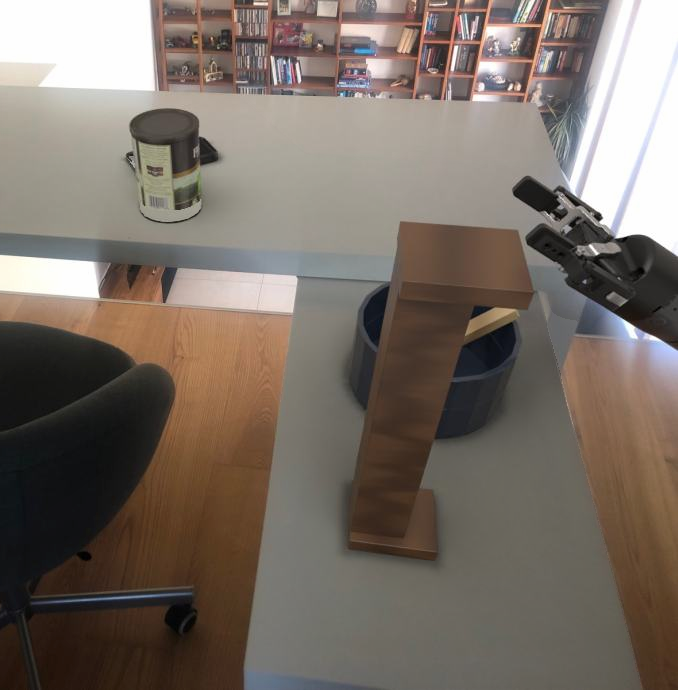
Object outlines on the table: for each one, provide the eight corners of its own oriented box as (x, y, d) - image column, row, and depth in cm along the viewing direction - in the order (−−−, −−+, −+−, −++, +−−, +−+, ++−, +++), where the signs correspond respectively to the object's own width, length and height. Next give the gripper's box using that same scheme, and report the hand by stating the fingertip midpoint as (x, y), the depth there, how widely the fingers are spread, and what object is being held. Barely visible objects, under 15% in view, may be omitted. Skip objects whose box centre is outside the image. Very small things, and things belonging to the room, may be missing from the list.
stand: (430, 498, 70) (518, 229, 48) (434, 561, 65) (534, 292, 43) (350, 488, 71) (400, 220, 49) (348, 549, 66) (402, 280, 44)
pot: (490, 340, 87) (509, 283, 80) (509, 447, 74) (533, 389, 68) (351, 327, 89) (359, 270, 83) (346, 428, 76) (356, 371, 70)
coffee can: (198, 186, 115) (195, 104, 106) (206, 220, 108) (203, 135, 98) (136, 192, 114) (127, 110, 105) (140, 226, 107) (130, 141, 97)
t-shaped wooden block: (408, 382, 81) (396, 370, 80) (404, 352, 84) (393, 341, 83) (523, 326, 73) (512, 313, 72) (513, 297, 77) (502, 283, 76)
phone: (219, 153, 121) (138, 172, 117) (220, 159, 122) (139, 178, 117) (202, 135, 126) (123, 152, 122) (202, 141, 127) (124, 158, 123)
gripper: (663, 223, 71) (543, 140, 67) (712, 311, 60) (573, 219, 57) (601, 271, 76) (486, 196, 72) (637, 360, 65) (505, 279, 62)
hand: (525, 206), depth 64 cm, fingers open, 8 cm apart
